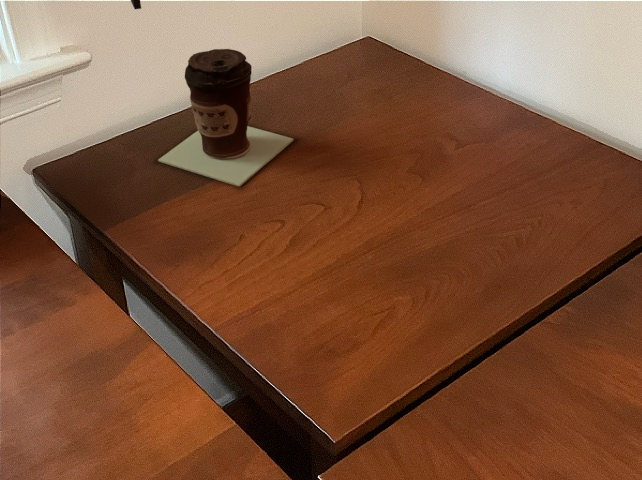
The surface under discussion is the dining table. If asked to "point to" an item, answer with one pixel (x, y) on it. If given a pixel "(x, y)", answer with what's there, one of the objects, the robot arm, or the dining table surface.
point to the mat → (229, 169)
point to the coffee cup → (221, 100)
